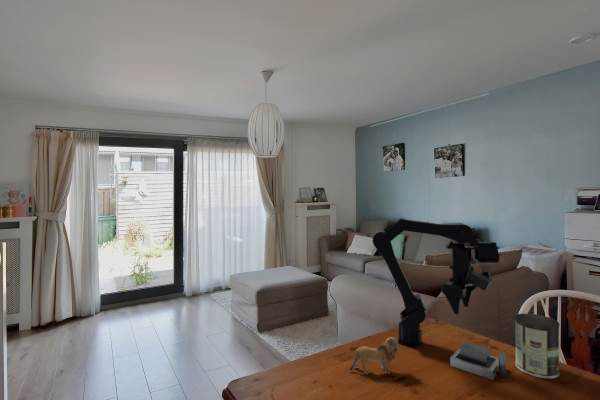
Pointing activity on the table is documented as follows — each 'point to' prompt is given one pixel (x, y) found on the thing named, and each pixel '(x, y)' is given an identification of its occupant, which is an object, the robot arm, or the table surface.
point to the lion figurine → (377, 354)
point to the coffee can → (537, 345)
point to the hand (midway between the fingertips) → (461, 310)
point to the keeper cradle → (489, 373)
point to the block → (475, 354)
